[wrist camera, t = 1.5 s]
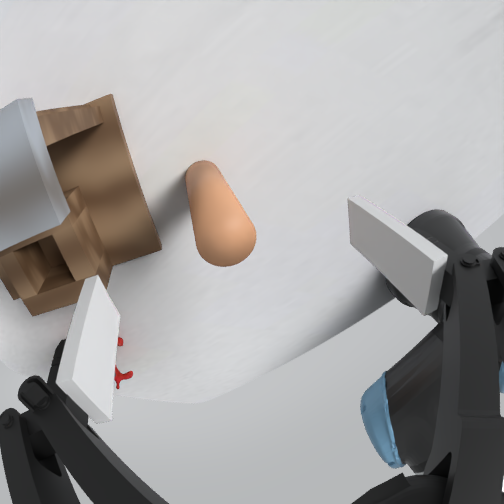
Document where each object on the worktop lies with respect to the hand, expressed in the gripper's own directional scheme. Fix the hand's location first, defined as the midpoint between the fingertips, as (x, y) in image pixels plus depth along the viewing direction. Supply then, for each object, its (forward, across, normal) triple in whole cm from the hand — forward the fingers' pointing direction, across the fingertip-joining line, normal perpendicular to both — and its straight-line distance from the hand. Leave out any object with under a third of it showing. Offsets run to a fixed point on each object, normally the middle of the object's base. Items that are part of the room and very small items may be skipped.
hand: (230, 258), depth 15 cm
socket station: (+16, +16, -2) cm, 23 cm away
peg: (+16, 0, 0) cm, 16 cm away
